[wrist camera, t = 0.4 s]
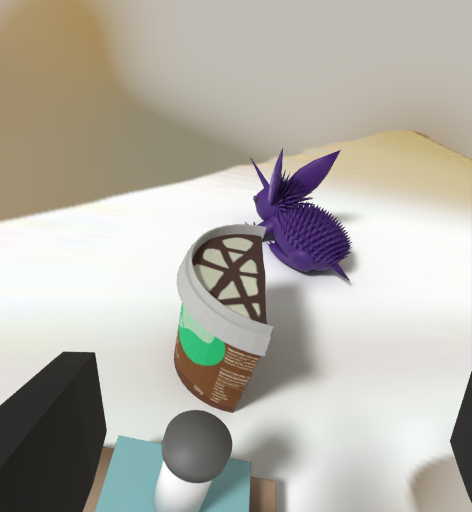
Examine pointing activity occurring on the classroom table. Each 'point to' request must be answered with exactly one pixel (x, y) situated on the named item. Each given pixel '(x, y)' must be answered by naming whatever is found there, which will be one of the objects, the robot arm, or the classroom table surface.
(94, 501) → the bench base
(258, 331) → the food container
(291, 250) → the creature
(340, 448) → the classroom table surface
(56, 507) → the robot arm
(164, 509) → the teal plate with post
